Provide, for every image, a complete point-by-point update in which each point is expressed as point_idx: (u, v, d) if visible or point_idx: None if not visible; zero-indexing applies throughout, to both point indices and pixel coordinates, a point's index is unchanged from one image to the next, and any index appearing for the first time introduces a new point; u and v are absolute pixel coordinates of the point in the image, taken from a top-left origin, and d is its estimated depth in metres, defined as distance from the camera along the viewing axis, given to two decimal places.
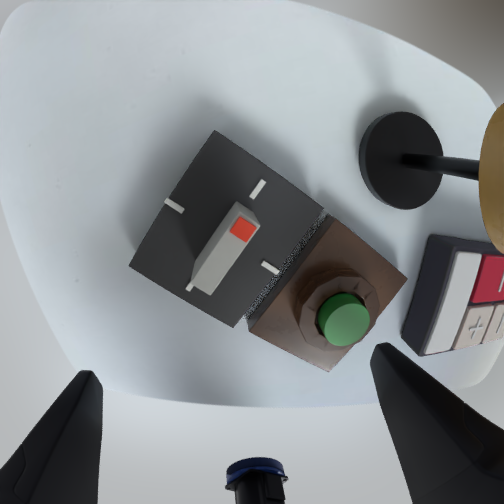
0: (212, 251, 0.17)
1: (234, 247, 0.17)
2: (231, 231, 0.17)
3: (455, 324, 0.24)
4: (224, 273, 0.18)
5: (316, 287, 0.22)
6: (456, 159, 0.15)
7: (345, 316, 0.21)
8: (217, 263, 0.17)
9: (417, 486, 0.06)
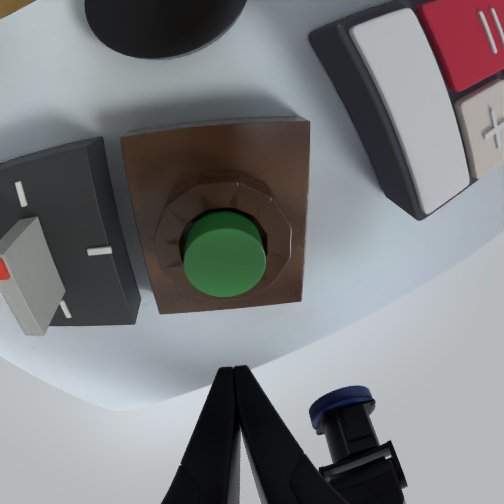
0: (7, 301, 0.12)
1: (11, 287, 0.11)
2: None
3: (450, 142, 0.12)
4: (29, 312, 0.12)
5: (154, 239, 0.14)
6: None
7: (207, 257, 0.13)
8: (17, 308, 0.12)
9: None
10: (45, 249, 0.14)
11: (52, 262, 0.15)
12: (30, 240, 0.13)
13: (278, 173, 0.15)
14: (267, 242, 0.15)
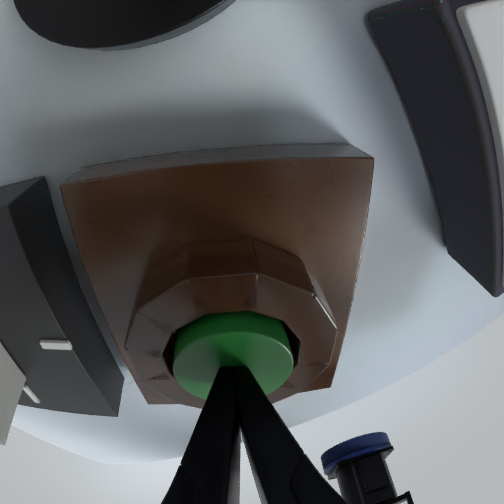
0: None
1: None
2: None
3: None
4: None
5: (125, 347, 0.09)
6: None
7: (208, 365, 0.08)
8: None
9: None
10: None
11: (2, 349, 0.09)
12: None
13: (319, 241, 0.09)
14: (299, 350, 0.09)
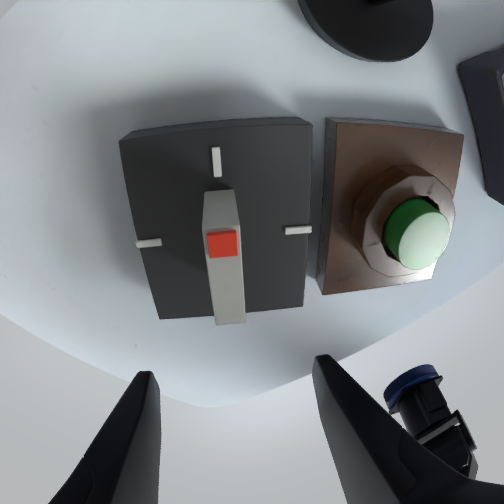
0: (210, 285, 0.13)
1: (230, 266, 0.12)
2: (210, 256, 0.12)
3: None
4: (242, 296, 0.13)
5: (365, 219, 0.15)
6: None
7: (417, 235, 0.14)
8: (225, 292, 0.13)
9: None
10: None
11: None
12: None
13: (441, 172, 0.16)
14: None
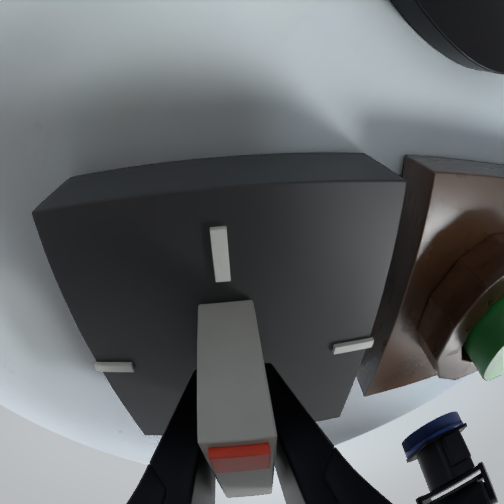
0: (218, 479, 0.06)
1: None
2: (218, 472, 0.05)
3: None
4: (269, 482, 0.06)
5: (452, 327, 0.09)
6: None
7: None
8: (242, 483, 0.06)
9: None
10: None
11: None
12: None
13: None
14: None
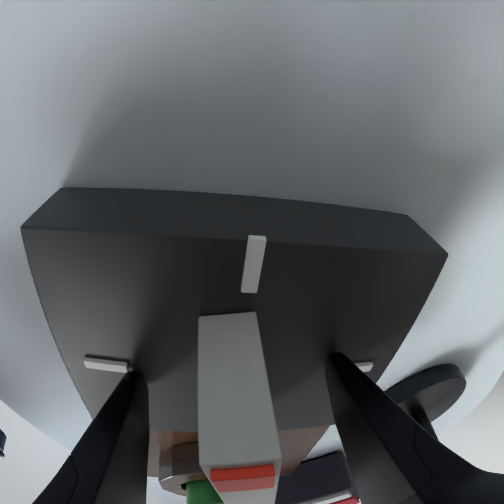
0: (220, 495, 0.06)
1: None
2: (221, 491, 0.05)
3: None
4: (273, 496, 0.06)
5: None
6: None
7: None
8: (245, 498, 0.06)
9: None
10: None
11: None
12: None
13: None
14: None
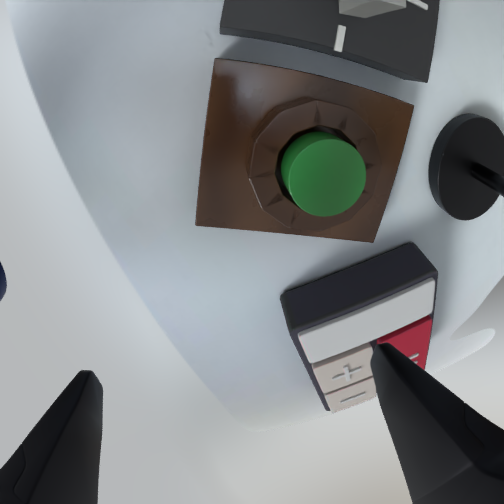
0: None
1: None
2: None
3: (347, 343, 0.20)
4: None
5: (348, 107, 0.13)
6: None
7: (343, 166, 0.13)
8: None
9: (417, 486, 0.06)
10: None
11: None
12: None
13: None
14: None
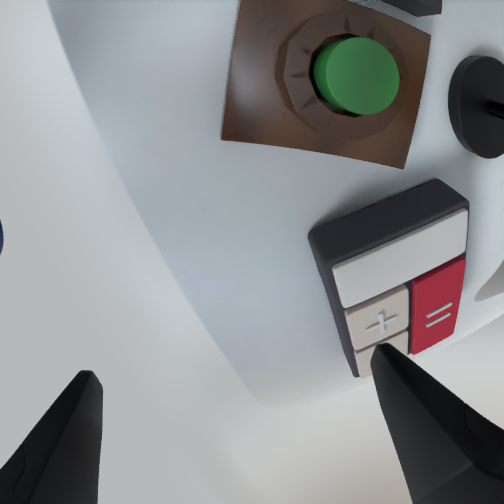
0: None
1: None
2: None
3: (384, 282, 0.19)
4: None
5: (374, 21, 0.11)
6: None
7: (377, 64, 0.11)
8: None
9: (417, 486, 0.06)
10: None
11: None
12: None
13: (375, 136, 0.16)
14: (345, 115, 0.13)
